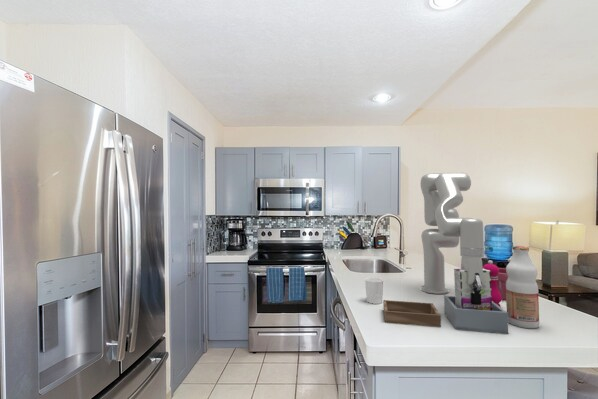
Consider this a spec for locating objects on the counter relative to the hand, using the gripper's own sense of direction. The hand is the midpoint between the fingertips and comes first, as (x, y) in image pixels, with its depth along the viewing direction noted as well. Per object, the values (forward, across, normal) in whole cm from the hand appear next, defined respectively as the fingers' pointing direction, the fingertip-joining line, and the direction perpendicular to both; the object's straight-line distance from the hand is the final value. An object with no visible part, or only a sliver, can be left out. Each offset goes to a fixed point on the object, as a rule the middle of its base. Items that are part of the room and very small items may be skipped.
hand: (472, 301), depth 108 cm
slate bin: (+8, 0, 0) cm, 8 cm away
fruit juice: (+8, -3, +17) cm, 19 cm away
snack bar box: (+5, 0, 0) cm, 5 cm away
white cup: (+8, -17, -35) cm, 40 cm away
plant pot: (+8, -37, +25) cm, 45 cm away
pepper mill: (+8, -20, +13) cm, 25 cm away
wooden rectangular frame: (+8, 0, -22) cm, 23 cm away
